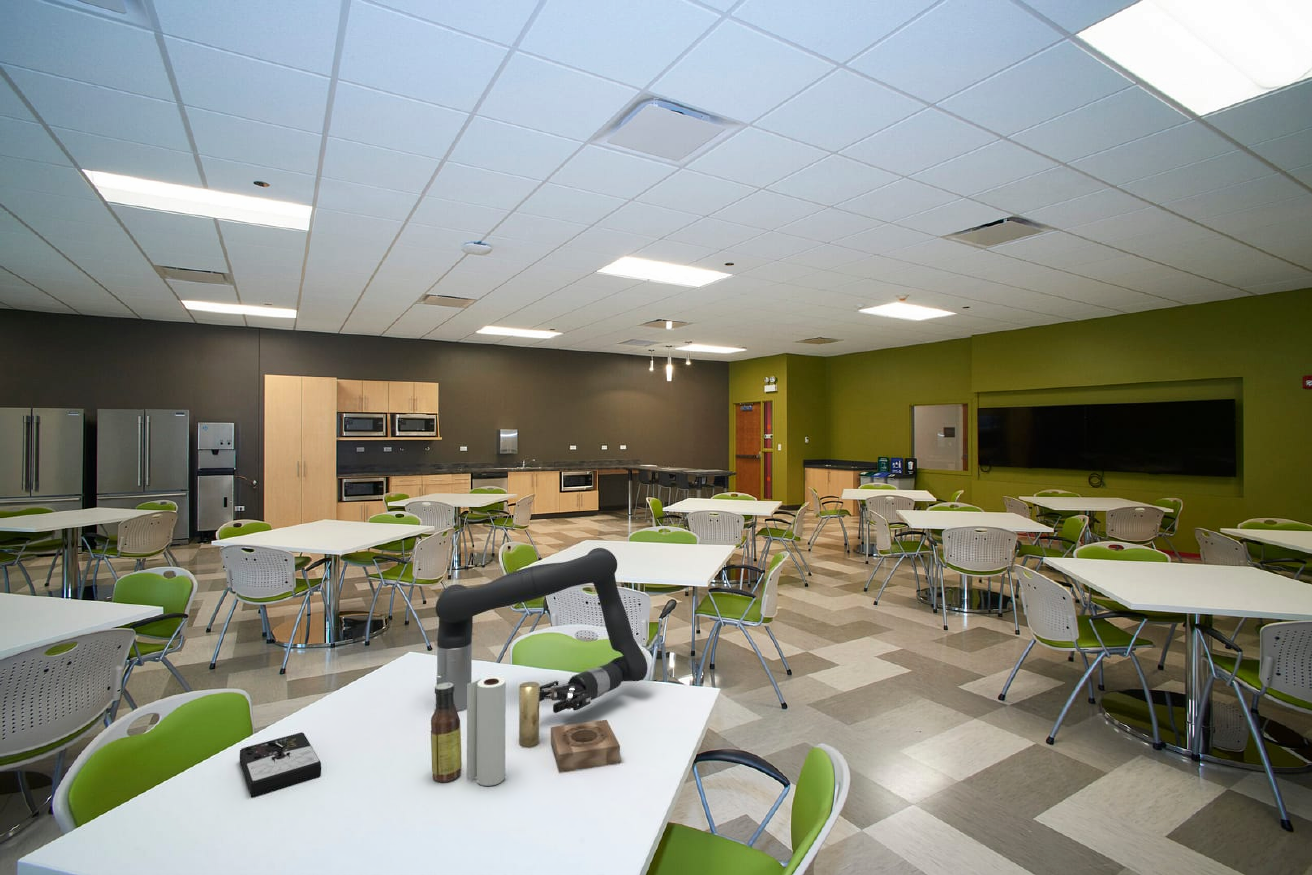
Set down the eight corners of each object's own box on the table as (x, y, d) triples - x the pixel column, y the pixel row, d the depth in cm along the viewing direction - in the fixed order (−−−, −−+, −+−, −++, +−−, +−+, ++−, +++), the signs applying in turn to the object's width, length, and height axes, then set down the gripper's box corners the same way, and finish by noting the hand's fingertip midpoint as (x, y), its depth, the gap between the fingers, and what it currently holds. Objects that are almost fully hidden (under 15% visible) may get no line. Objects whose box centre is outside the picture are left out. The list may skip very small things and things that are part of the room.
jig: (558, 772, 137) (558, 754, 137) (550, 743, 150) (550, 726, 150) (619, 762, 141) (619, 745, 141) (606, 735, 154) (606, 719, 154)
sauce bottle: (467, 771, 137) (467, 682, 138) (449, 785, 132) (449, 692, 132) (443, 766, 140) (443, 678, 140) (424, 780, 134) (424, 688, 134)
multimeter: (303, 745, 150) (303, 725, 150) (321, 778, 135) (321, 755, 135) (239, 763, 142) (239, 742, 142) (250, 800, 127) (251, 776, 127)
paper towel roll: (511, 775, 136) (511, 678, 136) (492, 789, 130) (493, 688, 130) (485, 768, 139) (485, 673, 139) (466, 781, 133) (466, 682, 133)
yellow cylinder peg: (520, 748, 148) (520, 690, 148) (518, 739, 152) (518, 682, 153) (540, 745, 149) (540, 687, 149) (537, 736, 154) (538, 680, 154)
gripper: (571, 665, 171) (524, 682, 159) (608, 677, 162) (561, 696, 150) (571, 692, 171) (524, 711, 159) (608, 705, 162) (561, 727, 150)
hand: (542, 704), depth 154 cm, fingers open, 8 cm apart
